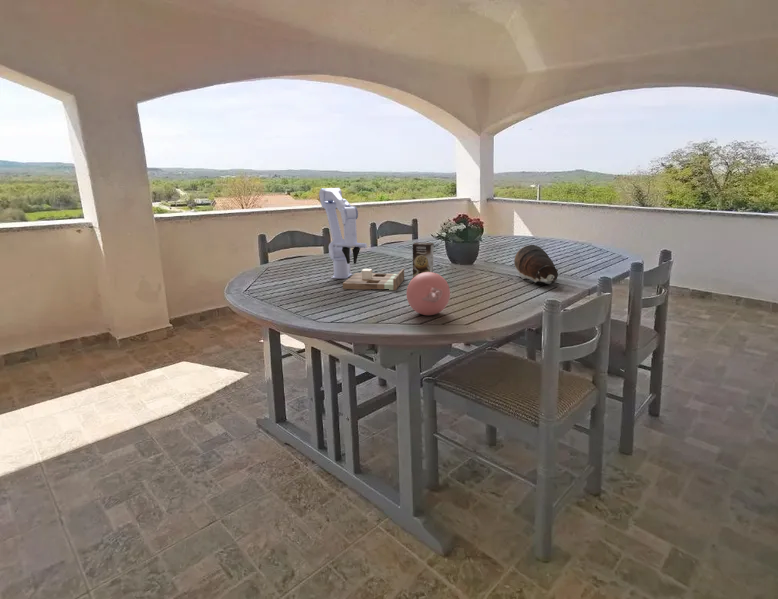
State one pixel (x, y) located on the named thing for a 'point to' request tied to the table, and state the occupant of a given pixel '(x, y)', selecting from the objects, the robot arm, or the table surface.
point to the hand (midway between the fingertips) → (351, 263)
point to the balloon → (428, 293)
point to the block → (366, 273)
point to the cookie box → (422, 258)
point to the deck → (375, 281)
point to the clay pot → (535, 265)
